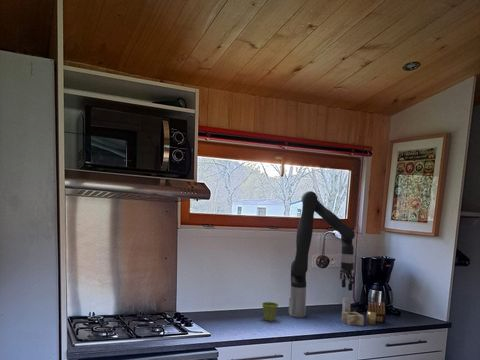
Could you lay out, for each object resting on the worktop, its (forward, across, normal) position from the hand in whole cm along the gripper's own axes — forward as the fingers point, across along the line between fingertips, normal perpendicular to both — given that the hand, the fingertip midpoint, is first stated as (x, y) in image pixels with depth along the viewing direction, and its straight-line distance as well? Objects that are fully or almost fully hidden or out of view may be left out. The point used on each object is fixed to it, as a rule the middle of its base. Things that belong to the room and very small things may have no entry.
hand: (346, 288), depth 226 cm
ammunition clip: (+18, +8, +15) cm, 25 cm away
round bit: (+18, +11, +10) cm, 23 cm away
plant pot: (+17, +1, -48) cm, 51 cm away
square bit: (+18, 0, 0) cm, 18 cm away
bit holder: (+18, +8, 0) cm, 19 cm away
